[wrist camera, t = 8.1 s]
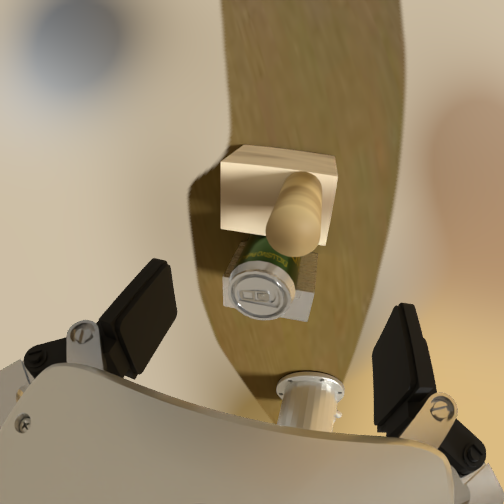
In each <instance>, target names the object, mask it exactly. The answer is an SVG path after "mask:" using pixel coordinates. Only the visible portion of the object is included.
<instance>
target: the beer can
mask: <svg viewBox="0 0 504 504" xmlns="http://www.w3.org/2000/svg"><path fill="white" fill-rule="evenodd" d="M301 257H302V256H300V257H289V256H285V255H282V254H280V253H279V252H277V251H276V250H274V249H273V248H272V247H271V245H270V244H269V242H268V240H267V238H266V236H263V235H257V234H250V236H249V238H248V240H247V242H246V244H245V246H244V248H243V250H242V252H241V255H240V257H239V259H238V261H237V263H236V265H235V267H234V269H233V271H232V273H231V275H230V277H229V286H228V296H229V299H230V302H231V303H232V304H233V306H234V307H235V308H236V309H237V310H238V311H239V312H241V313H242V314H244V315H246V316H248V317H250V318H253V319H258V320H272V319H276V318H279V317H280V316H282V315H283V314H285V313H286V311H287V310H288V309H289V307H290V304H291V303H292V302H293V300H294V297H295V292H296V287H297V281H298V275H299V269H300V263H301Z"/></svg>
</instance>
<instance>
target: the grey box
mask: <svg viewBox="0 0 504 504" xmlns="http://www.w3.org/2000/svg"><path fill="white" fill-rule="evenodd" d="M245 244H246V242H245V241H241V243H240V245H239V247H238V248H237V250H236V252H235V254H234V256H233V258H232V260H231V262H230V264H229V266H228V267H227V269H226V271H225V273H224V275H223V305H224V306H227V307H232V308H235V307H234V306H233V304H232V303H231V302H230V299H229V296H228V286H229V277H230V275H231V273H232V271H233V269H234V267H235V265H236V263H237V261H238V259H239V257H240V255H241V252H242V250H243V248H244V246H245ZM317 258H318V254H317V253H311V252H310V253H309V254H307V255H304V256H302V257H301V263H300V269H299V275H298V281H297V287H296V292H295V297H294V300H293V302H292V303H291V304H290V307H289V309H288V310H287V311H286V313H285V314H283V315H282V316H280V317H283V318H288V319H294V320H300V321H305V322H307V321H308V317H309V313H310V309H311V305H312V301H313V297H314V292H315V282H316V270H317Z"/></svg>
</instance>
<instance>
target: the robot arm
mask: <svg viewBox="0 0 504 504" xmlns="http://www.w3.org/2000/svg"><path fill="white" fill-rule="evenodd" d="M176 316H177V307H176V301H175V295H174V288H173V281H172V274H171V268H170V265H168V264H167V262H166V261H164V260H160V259H155V258H153V259H152V260H151V261H150V262H149V263H148V264H147V265H146V266H145V267H144V268H143V269H142V270H141V272H140V273H139V274H138V275H137V276H136V277H135V278H134V279H133V281H132V282H131V283H130V284H129V285H128V286H127V287H126V288H125V289H124V291H123V292H122V293H121V294H120V295H119V296H118V298H116V300H115V301H114V302H113V303H112V304H111V305H110V307H109V308H108V309H107V310H106V311H105V312H104V314H103V315H102V316H101V317H100V318H99V321H98V322H97V323H94V322H93V321H89V320H83V321H79V322H77V323H75V324H74V325H72V326H71V327H70V329H69V330H68V332H67V337H66V338H63V339H59V340H55V341H51V342H47V343H44V344H40V345H36V346H34V347H32V348H31V349H29V350H28V352H27V353H26V355H25V357H24V361H21V360H18V361H16V362H14V363H13V364H11V365H9V366H7V367H6V368H4V369H3V370H0V504H503V502H504V492H503V490H502V488H501V486H500V484H499V482H498V480H497V478H496V476H495V474H494V472H493V470H492V468H491V467H490V465H489V463H488V464H485V462H484V461H485V459H486V449H485V446H484V444H482V442H481V441H480V440H479V439H478V438H477V437H476V436H474V434H473V433H471V432H470V431H469V430H468V429H467V428H466V427H465V426H464V425H463V424H462V423H460V422H459V421H458V420H457V419H456V417H457V412H458V409H457V405H456V403H455V401H454V399H453V398H451V396H449V395H447V394H446V393H441V392H439V393H437V390H436V384H435V380H434V374H433V369H432V364H431V359H430V355H429V351H428V346H427V343H426V340H425V339H424V338H423V336H422V331H421V328H420V324H419V320H418V316H417V313H416V309H415V306H414V305H413V304H407V303H400V304H399V306H395V307H394V309H393V311H392V313H391V315H390V317H389V319H388V321H387V324H386V326H385V328H384V330H383V332H382V334H381V336H380V338H379V340H378V341H377V343H376V345H375V347H374V350H373V353H372V364H373V385H374V386H373V387H374V424H375V425H377V432H386V433H387V434H386V437H382V436H366V435H354V434H343V433H332V429H333V423H334V422H335V420H336V418H340V417H341V416H342V413H341V412H340V411H338V410H337V402H339V401H340V400H341V399H342V398H343V396H344V386H343V384H342V383H341V381H339V380H338V379H337V378H335V377H333V376H330V375H328V374H324V373H319V372H297V373H292V374H289V375H287V376H285V377H283V378H282V379H280V380H279V382H278V384H277V388H276V392H277V394H278V396H279V397H280V398H281V399H282V405H281V410H280V414H279V419H278V423H277V424H272V423H267V422H262V421H257V420H253V419H248V418H244V417H240V416H236V415H231V414H228V413H224V412H220V411H216V410H213V409H209V408H206V407H202V406H199V405H196V404H193V403H189V402H186V401H183V400H180V399H177V398H174V397H171V396H168V395H165V394H163V393H160V392H157V391H155V390H152V389H149V388H147V387H144V386H141V385H139V384H136V383H134V382H131V381H129V380H126V379H124V378H123V377H124V376H127V377H130V378H132V379H135V378H136V376H137V375H138V374H141V373H142V372H143V371H144V369H145V367H146V366H147V364H148V362H149V361H150V359H151V357H152V356H153V354H154V353H155V351H156V349H157V348H158V346H159V344H160V343H161V341H162V339H163V338H164V336H165V334H166V333H167V331H168V330H169V328H170V327H171V325H172V323H173V322H174V320H175V318H176Z"/></svg>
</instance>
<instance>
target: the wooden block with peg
mask: <svg viewBox="0 0 504 504" xmlns="http://www.w3.org/2000/svg"><path fill="white" fill-rule="evenodd" d="M337 180H338V173H337V167H336V161H335V156H331V155H325V154H318V153H312V152H305V151H297V150H290V149H282V148H273V147H263V146H253V145H243V146H241V147H240V148H239V149H237V150H236V151H235V152H233V153H232V154H230V155H229V156H228V157H226V158H225V159H224V160H222V161H221V229H225V230H231V231H238V232H244V233H250V234H257V235H263V236H266V238H267V240H268V242H269V244H270V245H271V247H272V248H273V249H274V250H276V251H277V252H279V253H280V254H282V255H285V256H289V257H300V256H304V255H307V254H309V253H310V252H312V251H313V250H314V249H315V248H316V247H317V245H324V246H325V245H326V240H327V235H328V230H329V225H330V220H331V214H332V209H333V203H334V198H335V192H336V186H337Z"/></svg>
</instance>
